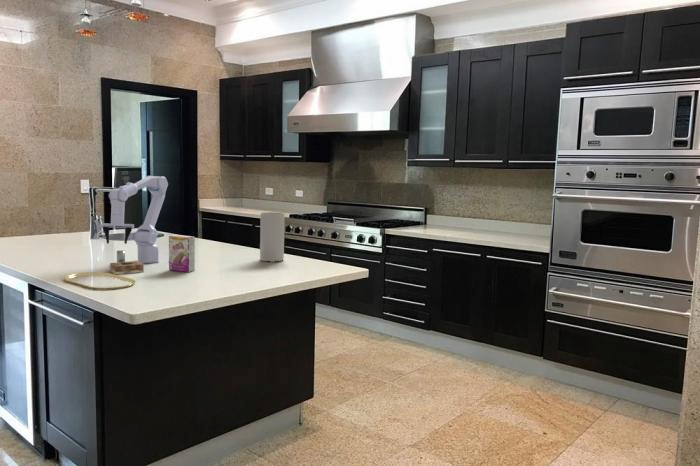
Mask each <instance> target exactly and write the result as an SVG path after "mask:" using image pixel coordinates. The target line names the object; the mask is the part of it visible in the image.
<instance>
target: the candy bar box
mask: <svg viewBox="0 0 700 466" xmlns="http://www.w3.org/2000/svg"><path fill="white" fill-rule="evenodd" d="M195 239H196V238H195V236H191V235H180V234H171V235H168V270H169V271H173V272H174V271H175V272H180V273H181V272H182V273H191V271H192V272H195V271H196V269H195V262H196V261H195V258H196V257H195V248H196V247H195V246H196V245H195Z"/></svg>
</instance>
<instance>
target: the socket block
mask: <svg viewBox="0 0 700 466" xmlns="http://www.w3.org/2000/svg"><path fill="white" fill-rule="evenodd" d="M144 267H145V266H144V263H140V262H138V261H135V260H132V261H125V262H117V261H116V262H109V270H110V272H112V274H114V275H123V274H134V273H144V272H145V271H144V270H145V269H144Z"/></svg>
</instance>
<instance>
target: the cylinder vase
mask: <svg viewBox="0 0 700 466" xmlns="http://www.w3.org/2000/svg"><path fill="white" fill-rule="evenodd" d="M259 228H260V229H259V231H260V232H259V233H260V234H259V235H260V237H259V238H260V239H259V240H260V241H259V242H260V243H259V261H261V260H262V262H265V261H270V262H269V263H276V262H275V261H279V262H282V260H283V261H284V258H285V256H284V255H285V254H284V253H285V213H282V212H274V211H273V212H272V211H271V212H269V211H268V212H261V213H260V227H259Z"/></svg>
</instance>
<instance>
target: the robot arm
mask: <svg viewBox="0 0 700 466" xmlns="http://www.w3.org/2000/svg"><path fill="white" fill-rule="evenodd" d="M168 186H169V183H168V180H167V178H166V177H165V176H159V175H158V176H155V175H147V176H145V177H143V178H142V179H140V180H139V181H136V182H134V183H133V182H126V184H125V185H120V186H119V187H118V188H112V189H111V190H110V191H109V193H108V198H109V200H110V205H111V208H110V210H111V212H110V223H106V222H105V223H104V222H103V223H101V222H100V223H99V227H100V228H101V229H102V231H103V233H104V235H105V239H106V244H109V243H110V239H109V238H110V228H111V229H124V244H125V245H126V244H127V243H128V239H129V236H130V235H131V232H132V231H133V230H132V229H135V224H132V223H125V211H126V210H125V205H126V202H127V200H128V198H130V197H131V196H134V195H136V194H137V193H138V191H139V190H141V189H144V188H147V190H148V191H149V192H150V194H152V198H151V200H150V204H149V207H148V209H147V213H146V215H145V218H144V221H143V223H142V224H141V225H140V226H139V227H138V228H137V230H136V231H135V232H134V234H133V240H134V242H135V243H136V245H137V259H136V260H134V261H138V262H140V263H142V264H151V263H152V264H153V263H154V264H155V263H160V262H159V246H158V244H155V243H156V241H157V234H158V231H157V229H156V228H155V227H156V223H157V221H158V218H159V215H160V213H161V212H160V211H161V210H162V207H163V203H164V201H165V198H166V191H167V188H168Z"/></svg>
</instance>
